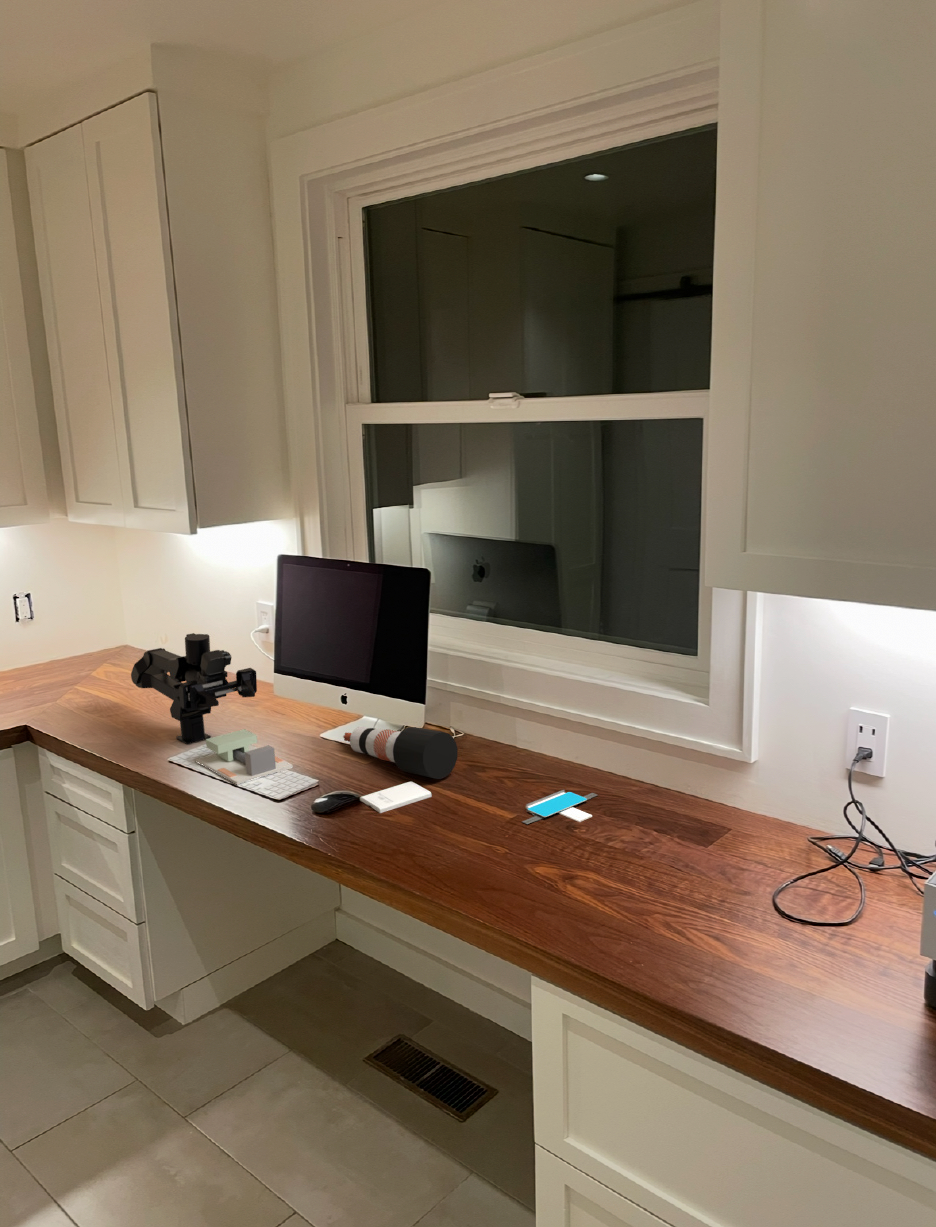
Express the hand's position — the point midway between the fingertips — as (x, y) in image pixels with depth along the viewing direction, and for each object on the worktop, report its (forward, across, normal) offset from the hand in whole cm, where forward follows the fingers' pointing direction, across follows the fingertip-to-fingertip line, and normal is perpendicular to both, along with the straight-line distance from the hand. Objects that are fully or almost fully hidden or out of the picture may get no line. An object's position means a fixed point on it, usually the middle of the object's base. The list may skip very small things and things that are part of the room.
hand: (236, 699), depth 212 cm
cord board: (+2, 0, +16) cm, 16 cm away
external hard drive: (+43, +13, +12) cm, 47 cm away
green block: (-3, 0, +15) cm, 15 cm away
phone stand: (+72, +33, +10) cm, 80 cm away
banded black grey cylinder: (+26, +25, +14) cm, 39 cm away
